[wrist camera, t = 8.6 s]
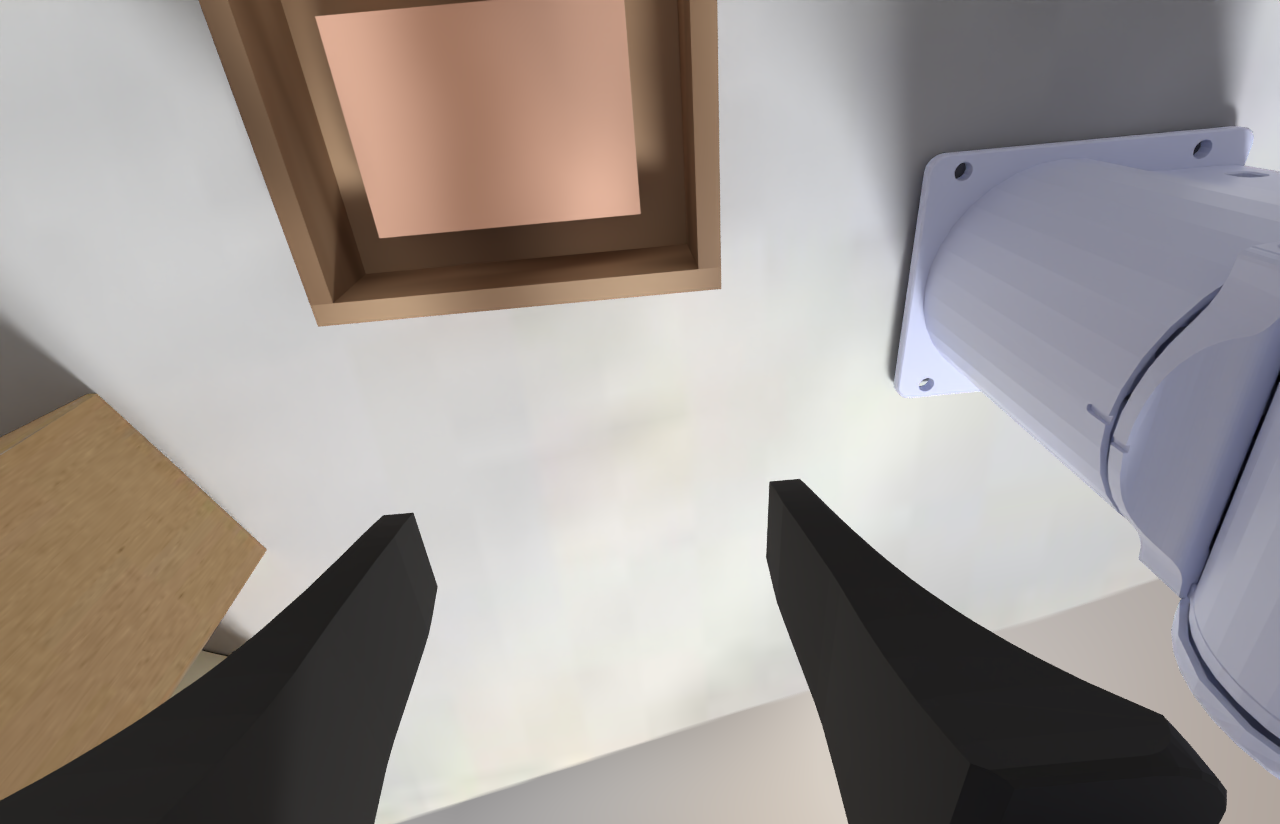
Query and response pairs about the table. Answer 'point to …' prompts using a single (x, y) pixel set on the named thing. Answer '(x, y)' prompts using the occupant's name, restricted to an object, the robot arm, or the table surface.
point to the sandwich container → (100, 583)
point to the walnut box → (482, 148)
